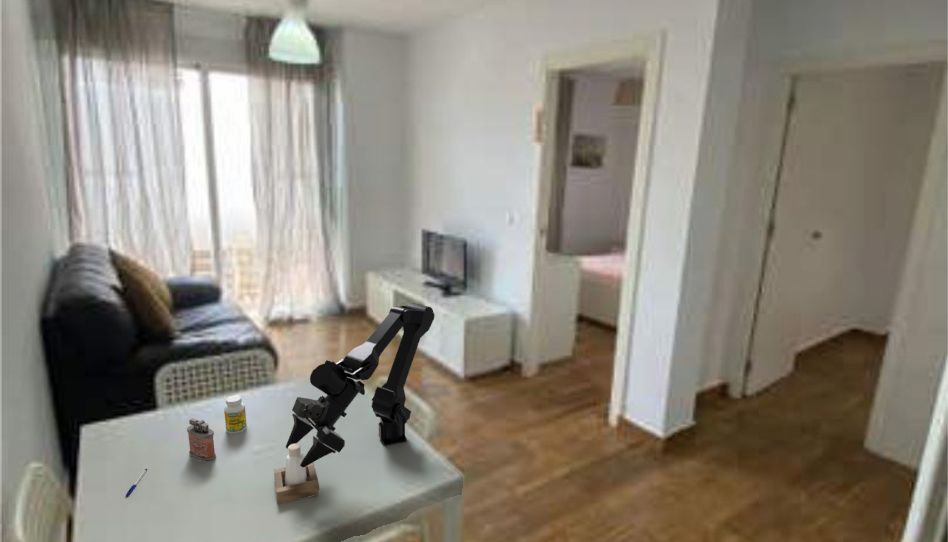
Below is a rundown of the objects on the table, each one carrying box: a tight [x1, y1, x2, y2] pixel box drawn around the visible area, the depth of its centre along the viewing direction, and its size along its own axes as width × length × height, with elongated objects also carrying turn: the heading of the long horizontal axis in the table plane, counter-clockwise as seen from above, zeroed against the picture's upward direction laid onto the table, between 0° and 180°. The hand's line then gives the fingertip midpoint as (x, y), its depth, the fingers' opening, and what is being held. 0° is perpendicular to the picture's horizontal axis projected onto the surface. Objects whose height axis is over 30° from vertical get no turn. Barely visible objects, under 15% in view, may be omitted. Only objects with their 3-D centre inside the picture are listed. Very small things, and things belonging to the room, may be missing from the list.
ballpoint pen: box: [125, 468, 148, 498], centre depth 125 cm, size 10×1×1 cm, turn 11°
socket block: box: [273, 462, 320, 505], centre depth 125 cm, size 9×9×3 cm
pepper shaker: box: [284, 443, 309, 487], centre depth 124 cm, size 5×5×11 cm
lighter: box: [186, 417, 217, 463], centre depth 135 cm, size 8×3×10 cm, turn 65°
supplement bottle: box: [223, 394, 248, 435], centre depth 148 cm, size 5×5×10 cm
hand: (294, 457), depth 123 cm, fingers open, 9 cm apart
